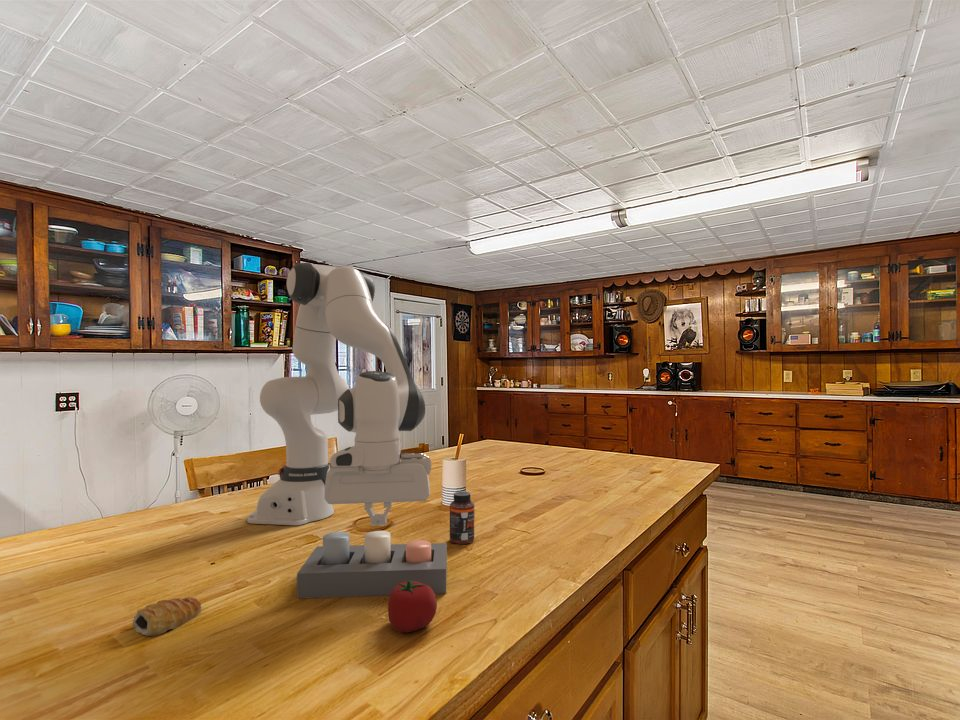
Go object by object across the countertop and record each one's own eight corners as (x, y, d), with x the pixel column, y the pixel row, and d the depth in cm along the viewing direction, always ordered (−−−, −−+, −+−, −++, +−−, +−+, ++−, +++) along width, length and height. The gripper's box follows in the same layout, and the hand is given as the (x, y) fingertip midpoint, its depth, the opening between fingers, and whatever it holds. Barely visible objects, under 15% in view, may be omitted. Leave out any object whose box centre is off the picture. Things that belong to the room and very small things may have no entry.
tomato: (393, 644, 74) (392, 596, 74) (381, 619, 81) (381, 575, 81) (442, 632, 77) (442, 586, 77) (427, 609, 84) (427, 567, 84)
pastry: (188, 605, 86) (188, 584, 86) (210, 615, 83) (210, 593, 83) (128, 630, 78) (128, 606, 78) (150, 642, 75) (150, 618, 75)
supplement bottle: (471, 546, 113) (471, 497, 113) (446, 544, 114) (446, 496, 114) (476, 537, 119) (476, 490, 119) (453, 535, 120) (453, 489, 120)
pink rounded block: (404, 581, 93) (404, 550, 93) (407, 570, 98) (406, 540, 98) (430, 580, 94) (430, 549, 94) (431, 569, 98) (431, 539, 99)
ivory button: (362, 571, 93) (362, 540, 93) (367, 560, 98) (366, 531, 98) (388, 570, 93) (388, 539, 93) (392, 560, 98) (391, 530, 98)
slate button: (319, 572, 92) (319, 541, 92) (326, 562, 97) (326, 532, 97) (346, 572, 93) (346, 540, 93) (351, 561, 98) (351, 531, 98)
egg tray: (297, 598, 88) (297, 573, 88) (316, 568, 101) (316, 546, 101) (446, 593, 90) (446, 568, 90) (446, 564, 103) (446, 542, 103)
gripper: (431, 449, 99) (432, 517, 99) (329, 452, 98) (330, 521, 98) (430, 455, 93) (431, 527, 93) (321, 458, 92) (322, 531, 92)
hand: (378, 524), depth 95 cm, fingers closed
